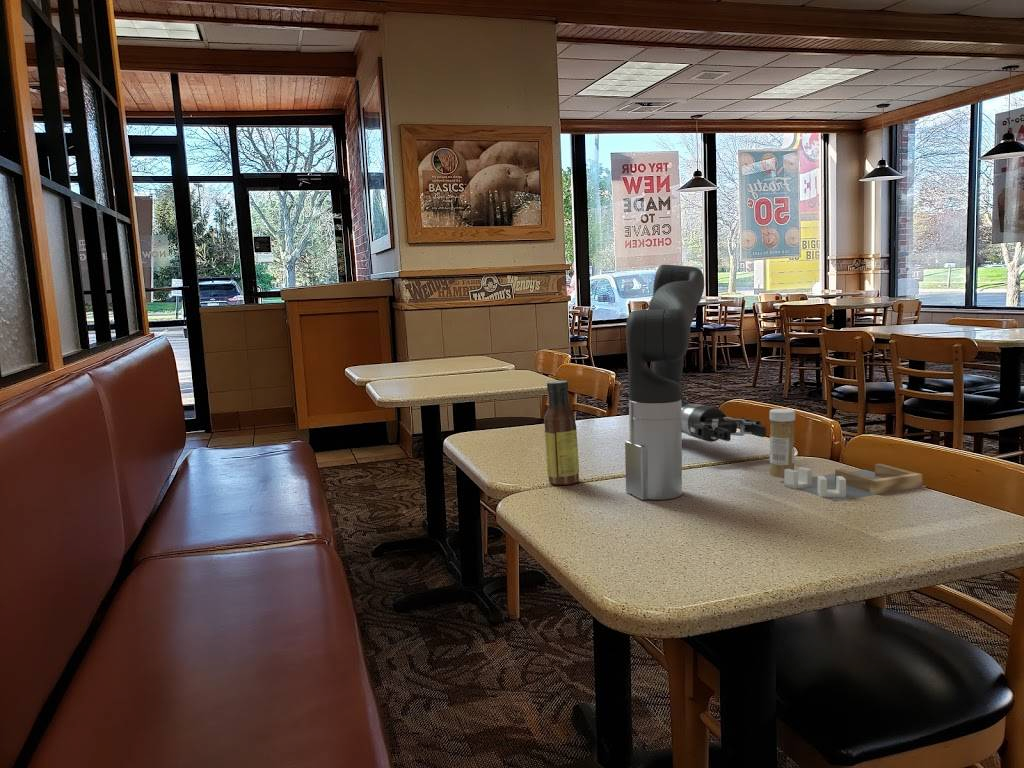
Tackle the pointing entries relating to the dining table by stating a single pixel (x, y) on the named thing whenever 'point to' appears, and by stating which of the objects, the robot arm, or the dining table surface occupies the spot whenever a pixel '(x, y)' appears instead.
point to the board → (827, 484)
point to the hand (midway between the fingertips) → (747, 434)
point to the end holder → (882, 479)
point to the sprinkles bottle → (781, 441)
